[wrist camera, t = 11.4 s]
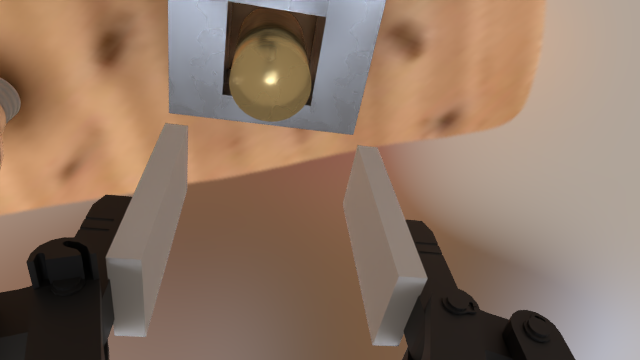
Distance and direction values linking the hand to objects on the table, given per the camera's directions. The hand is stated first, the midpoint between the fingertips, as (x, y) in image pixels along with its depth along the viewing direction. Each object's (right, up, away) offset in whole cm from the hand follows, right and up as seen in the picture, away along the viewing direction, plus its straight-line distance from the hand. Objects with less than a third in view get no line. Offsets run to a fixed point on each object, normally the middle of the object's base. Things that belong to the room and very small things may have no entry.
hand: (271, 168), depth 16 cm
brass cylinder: (-2, +9, +14) cm, 17 cm away
